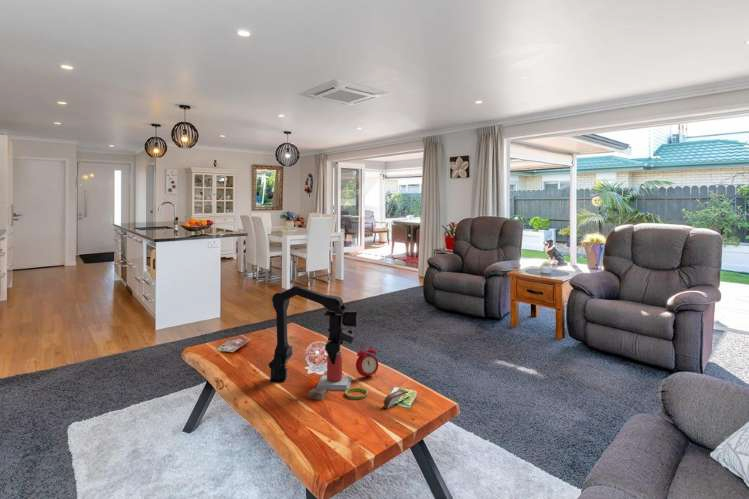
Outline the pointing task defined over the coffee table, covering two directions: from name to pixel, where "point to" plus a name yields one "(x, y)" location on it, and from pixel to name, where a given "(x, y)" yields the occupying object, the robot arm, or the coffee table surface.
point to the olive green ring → (356, 390)
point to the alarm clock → (366, 362)
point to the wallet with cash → (393, 398)
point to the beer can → (334, 368)
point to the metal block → (317, 394)
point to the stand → (334, 383)
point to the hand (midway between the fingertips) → (334, 360)
